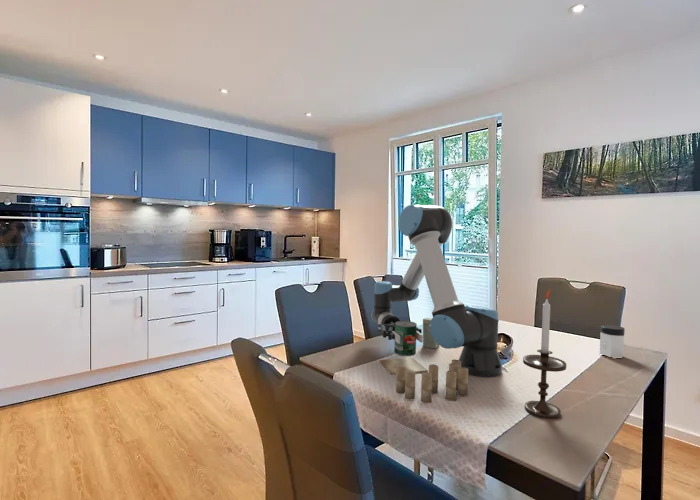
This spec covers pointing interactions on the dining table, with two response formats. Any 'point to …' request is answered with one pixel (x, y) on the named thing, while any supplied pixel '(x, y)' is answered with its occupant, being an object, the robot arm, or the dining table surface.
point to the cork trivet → (408, 362)
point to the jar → (612, 340)
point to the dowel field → (433, 382)
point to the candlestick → (544, 370)
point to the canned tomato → (406, 338)
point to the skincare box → (428, 334)
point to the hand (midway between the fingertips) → (410, 339)
